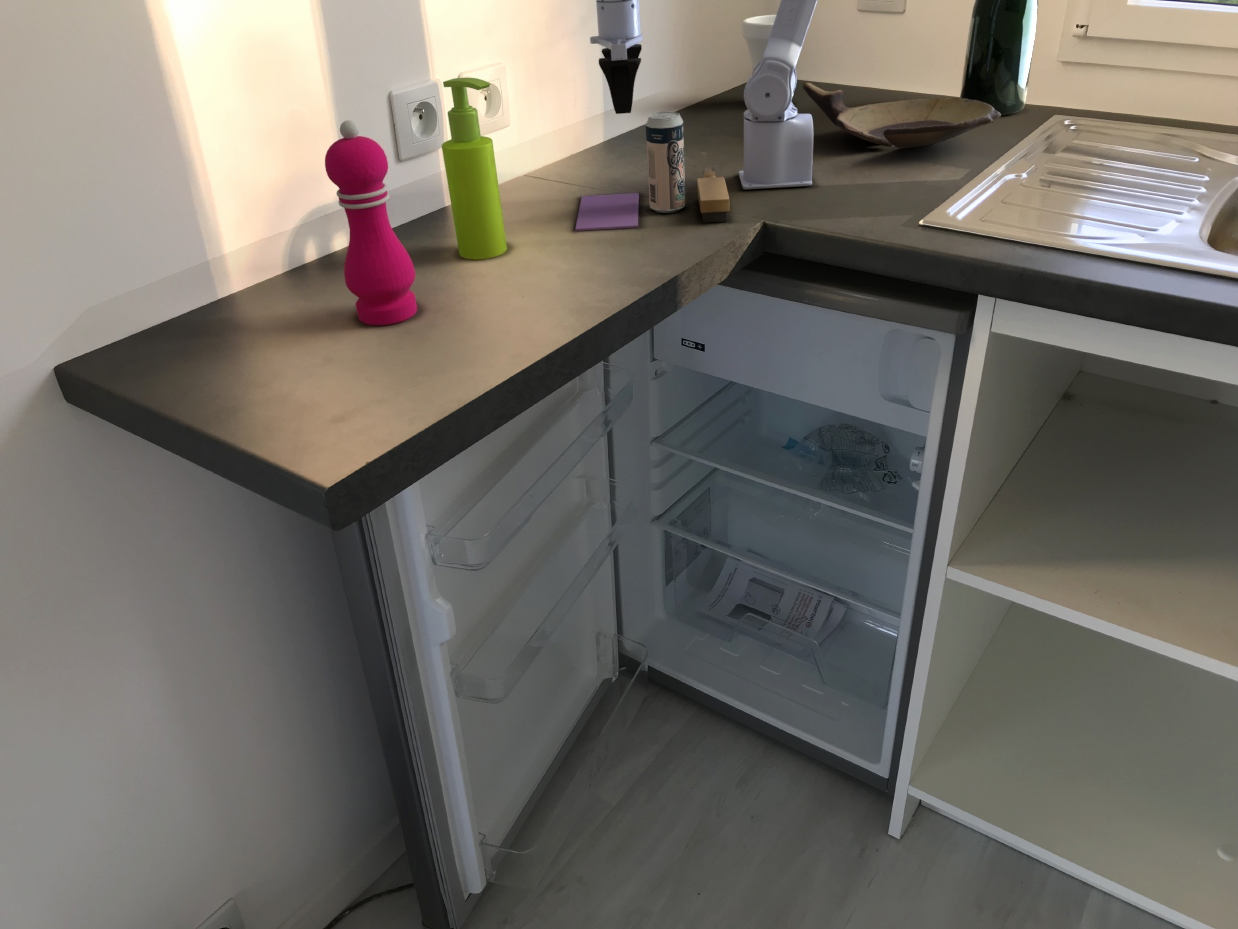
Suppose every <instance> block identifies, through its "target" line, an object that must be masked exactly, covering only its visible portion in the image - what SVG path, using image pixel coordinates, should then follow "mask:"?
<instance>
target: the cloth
mask: <svg viewBox="0 0 1238 929" xmlns="http://www.w3.org/2000/svg"><path fill="white" fill-rule="evenodd" d="M580 198H581V199H580V203H579V209H578V213H577V217H576V225H575V232H580V231H595V230H596V231H598V230H599V231H600V230H619V229H635V228H639V209H640V208H639V207H640V206H639V205H640V204H639V201H640V193H639V192H630V193H614V194H613V193H611V194H596V195H582V196H581V197H580Z"/></svg>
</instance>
